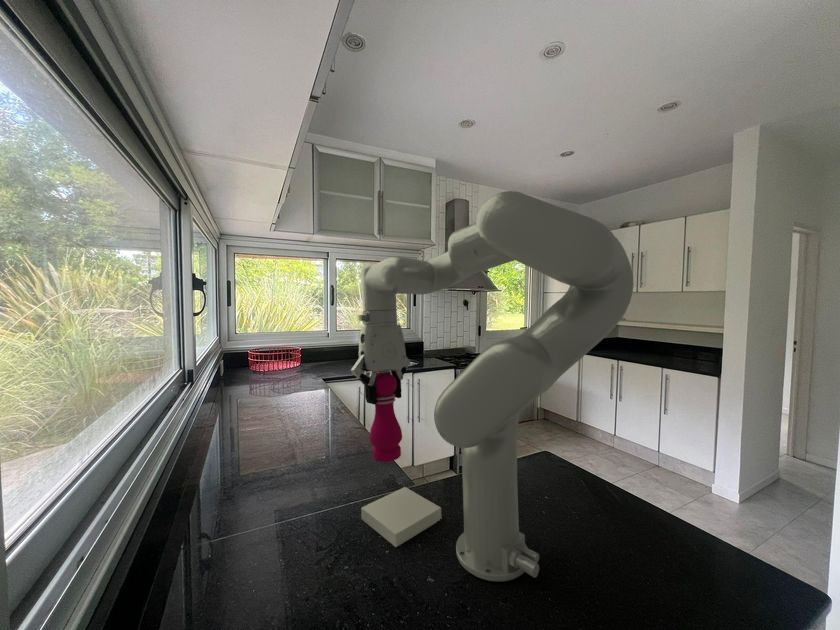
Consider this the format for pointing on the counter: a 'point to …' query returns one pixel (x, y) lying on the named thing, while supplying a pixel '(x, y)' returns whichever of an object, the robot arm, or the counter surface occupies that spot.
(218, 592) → the counter surface
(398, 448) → the pepper mill
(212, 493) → the counter surface
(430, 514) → the glazed tile
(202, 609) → the counter surface
